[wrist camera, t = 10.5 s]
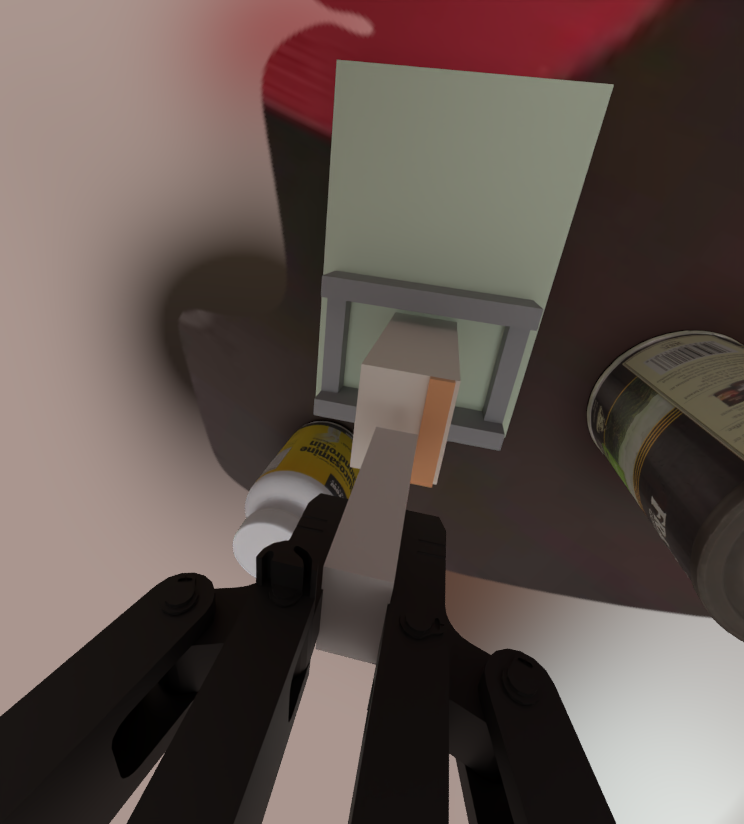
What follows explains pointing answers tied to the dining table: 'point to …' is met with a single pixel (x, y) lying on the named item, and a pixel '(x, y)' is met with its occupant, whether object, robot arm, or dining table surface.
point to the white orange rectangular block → (410, 390)
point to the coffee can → (683, 454)
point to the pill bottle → (294, 487)
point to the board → (449, 222)
